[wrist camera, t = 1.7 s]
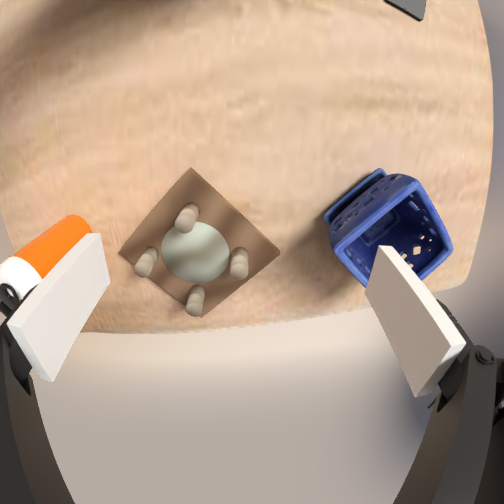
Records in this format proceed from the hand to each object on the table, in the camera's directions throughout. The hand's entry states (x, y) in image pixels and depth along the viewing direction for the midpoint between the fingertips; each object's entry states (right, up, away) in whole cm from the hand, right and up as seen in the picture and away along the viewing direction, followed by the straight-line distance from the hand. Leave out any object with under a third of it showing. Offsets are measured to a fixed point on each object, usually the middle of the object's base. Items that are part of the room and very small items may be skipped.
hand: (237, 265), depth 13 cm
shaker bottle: (-29, +4, +29) cm, 41 cm away
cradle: (-8, +1, +30) cm, 31 cm away
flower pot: (+18, +6, +28) cm, 34 cm away
